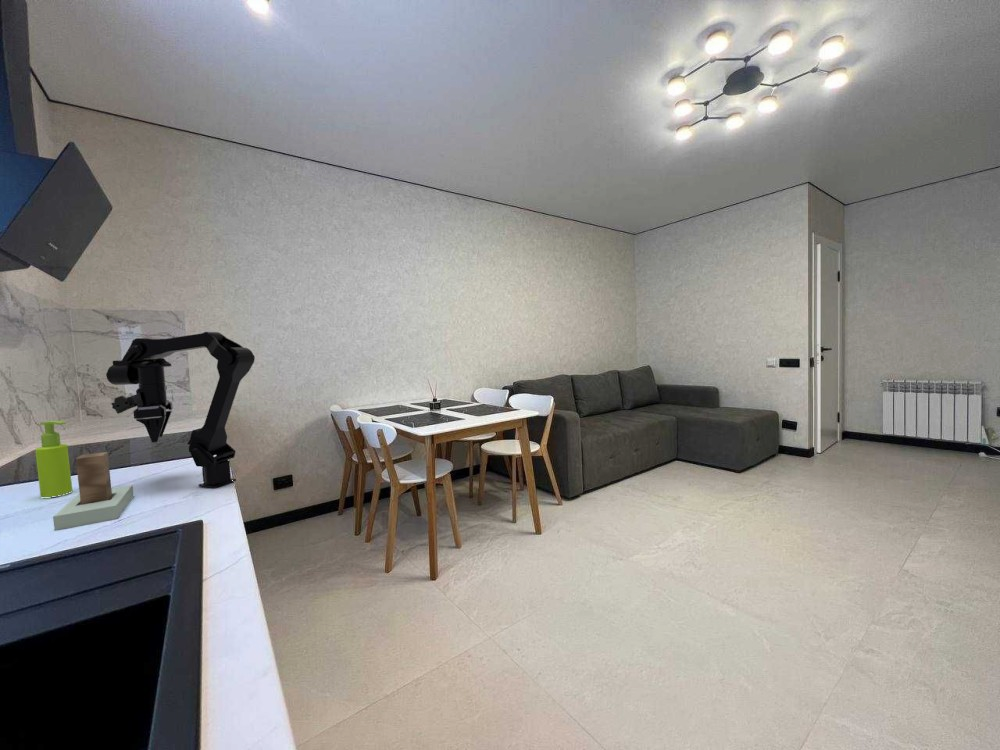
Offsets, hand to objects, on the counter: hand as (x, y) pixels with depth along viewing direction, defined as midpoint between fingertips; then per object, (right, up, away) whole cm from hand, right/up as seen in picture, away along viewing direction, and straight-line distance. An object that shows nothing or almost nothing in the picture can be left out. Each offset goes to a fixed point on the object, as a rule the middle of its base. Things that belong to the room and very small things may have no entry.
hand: (157, 439), depth 117 cm
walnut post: (+1, -13, -18) cm, 22 cm away
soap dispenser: (-23, -14, -4) cm, 28 cm away
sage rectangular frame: (+1, -14, -18) cm, 23 cm away
